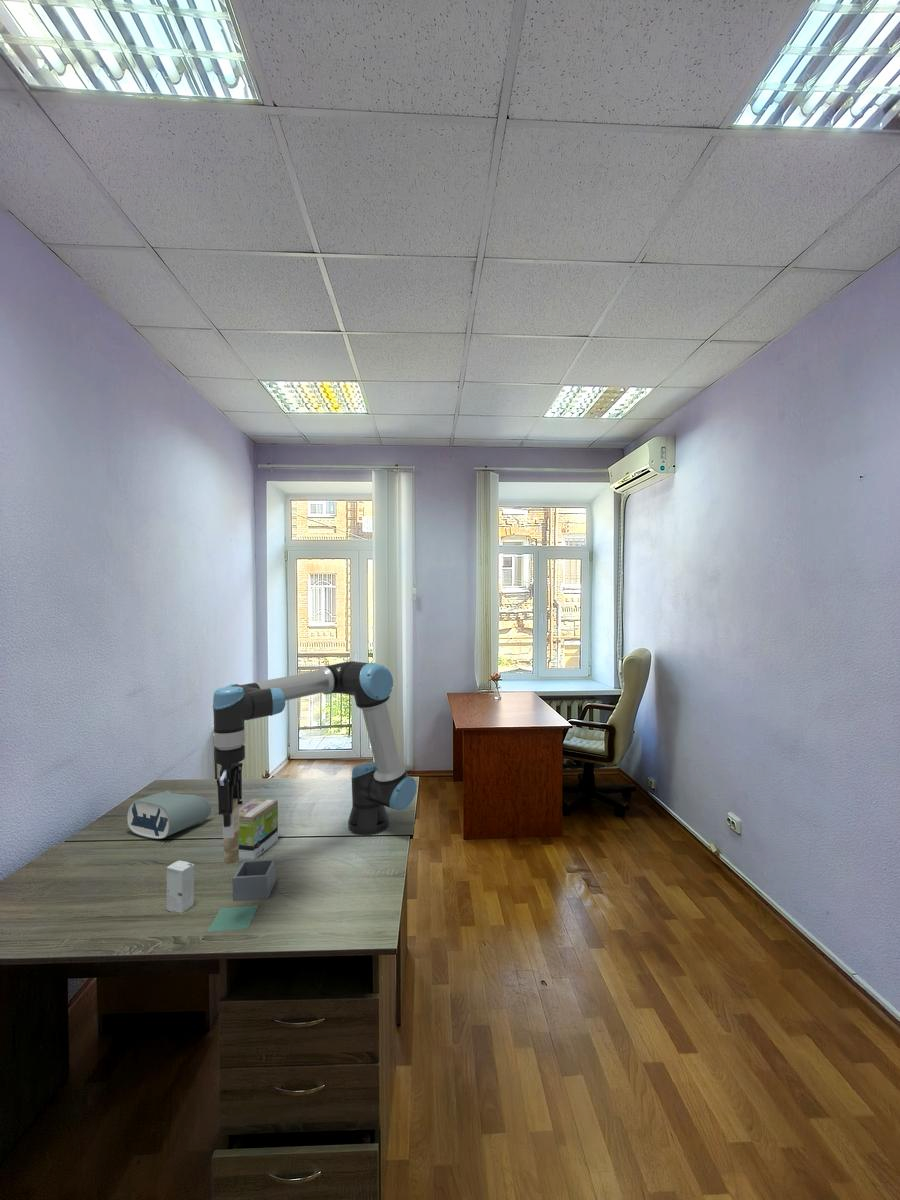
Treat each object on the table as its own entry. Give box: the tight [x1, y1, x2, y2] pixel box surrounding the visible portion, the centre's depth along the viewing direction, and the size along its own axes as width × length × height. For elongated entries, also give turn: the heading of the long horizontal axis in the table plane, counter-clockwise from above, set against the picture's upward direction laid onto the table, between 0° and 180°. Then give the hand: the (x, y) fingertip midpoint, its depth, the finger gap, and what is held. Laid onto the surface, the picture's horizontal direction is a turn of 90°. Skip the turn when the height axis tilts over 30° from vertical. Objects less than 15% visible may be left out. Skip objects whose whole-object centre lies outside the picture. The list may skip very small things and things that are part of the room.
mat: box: [207, 905, 259, 933], centre depth 139 cm, size 10×10×1 cm
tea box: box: [238, 798, 279, 860], centre depth 178 cm, size 15×10×15 cm, turn 168°
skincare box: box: [166, 860, 195, 914], centre depth 144 cm, size 6×4×12 cm
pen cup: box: [232, 858, 277, 902], centre depth 152 cm, size 10×10×7 cm
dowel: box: [223, 798, 240, 865], centre depth 138 cm, size 4×4×16 cm
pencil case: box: [125, 790, 212, 840], centre depth 196 cm, size 22×19×13 cm
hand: (231, 833), depth 138 cm, fingers closed on dowel, 3 cm apart
